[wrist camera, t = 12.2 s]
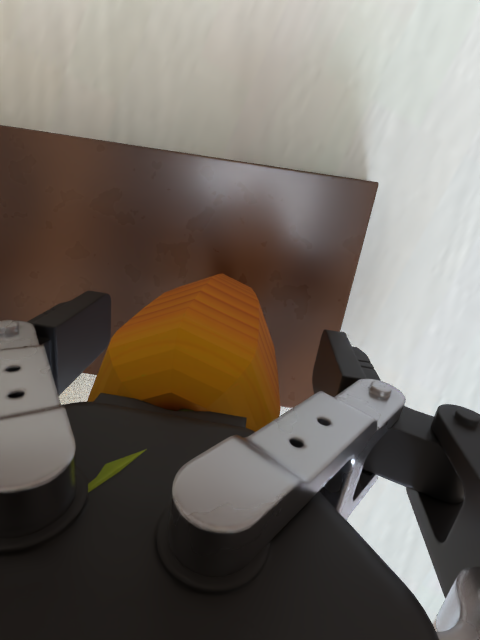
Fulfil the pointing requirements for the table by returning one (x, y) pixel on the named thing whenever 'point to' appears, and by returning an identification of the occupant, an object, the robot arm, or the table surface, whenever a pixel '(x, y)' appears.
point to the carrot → (194, 357)
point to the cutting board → (178, 236)
